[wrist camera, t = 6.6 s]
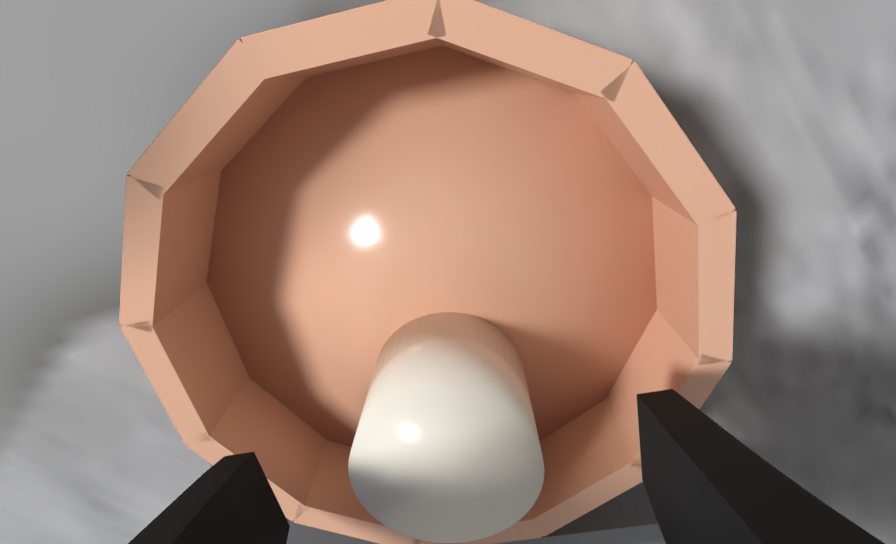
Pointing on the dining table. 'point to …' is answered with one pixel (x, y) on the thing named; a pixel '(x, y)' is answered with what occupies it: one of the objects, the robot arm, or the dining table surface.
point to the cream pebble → (447, 432)
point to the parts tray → (583, 540)
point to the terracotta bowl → (423, 245)
